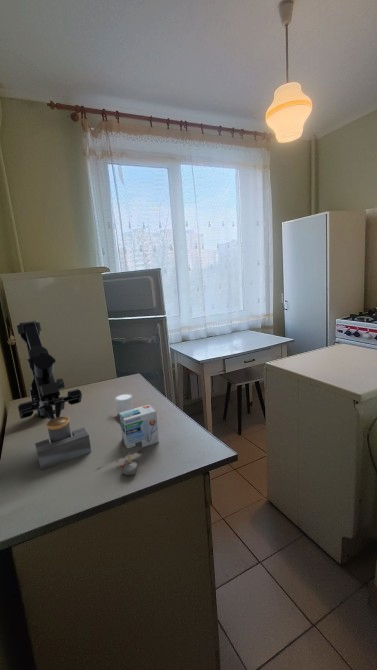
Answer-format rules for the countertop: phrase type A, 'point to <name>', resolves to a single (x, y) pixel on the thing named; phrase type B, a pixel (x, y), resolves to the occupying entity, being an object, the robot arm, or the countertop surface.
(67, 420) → the gray cup
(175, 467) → the countertop surface
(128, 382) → the countertop surface
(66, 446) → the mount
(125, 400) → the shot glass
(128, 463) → the figurine
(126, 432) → the light bulb box
